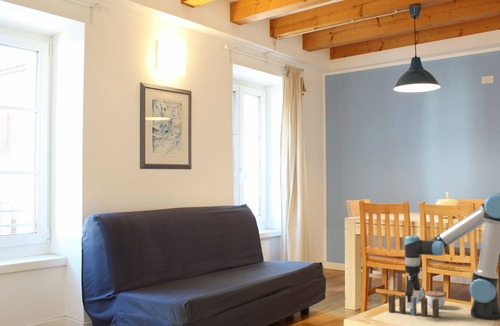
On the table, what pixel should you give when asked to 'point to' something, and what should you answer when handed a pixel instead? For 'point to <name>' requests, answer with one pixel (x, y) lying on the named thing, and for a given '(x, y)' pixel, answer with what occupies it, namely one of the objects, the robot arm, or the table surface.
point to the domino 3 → (414, 310)
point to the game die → (421, 293)
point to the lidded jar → (435, 297)
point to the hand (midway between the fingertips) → (413, 305)
